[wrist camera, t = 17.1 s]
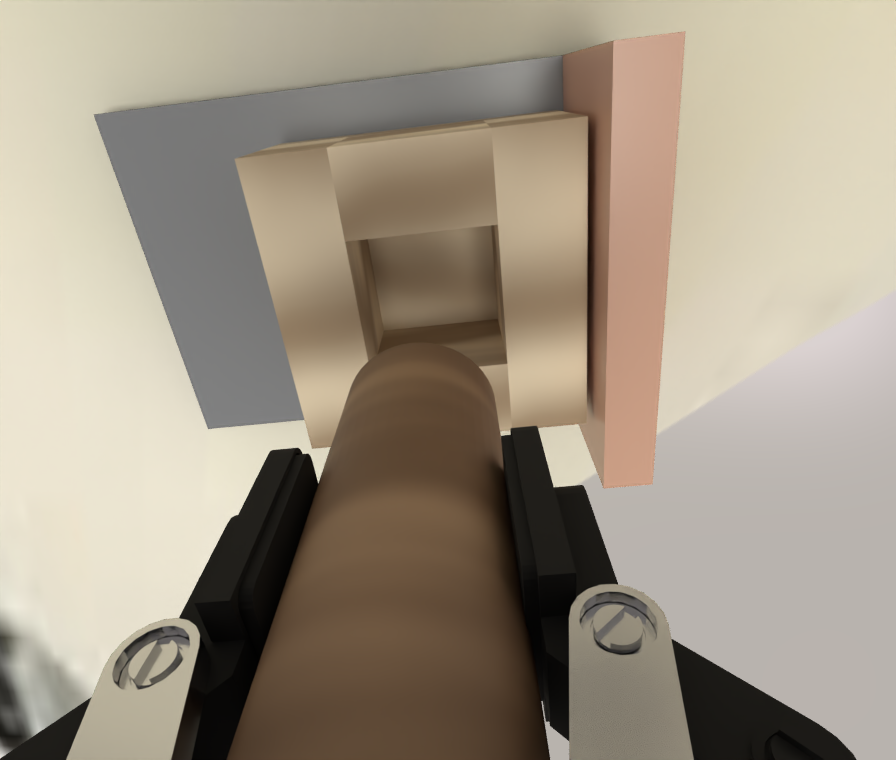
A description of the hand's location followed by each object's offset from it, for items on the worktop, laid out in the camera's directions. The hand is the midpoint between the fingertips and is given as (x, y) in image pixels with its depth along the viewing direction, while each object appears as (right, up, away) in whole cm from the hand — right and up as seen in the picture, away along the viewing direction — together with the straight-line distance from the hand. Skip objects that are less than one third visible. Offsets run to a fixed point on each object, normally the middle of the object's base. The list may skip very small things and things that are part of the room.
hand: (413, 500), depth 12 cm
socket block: (0, +8, +15) cm, 17 cm away
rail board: (-3, +8, +16) cm, 19 cm away
